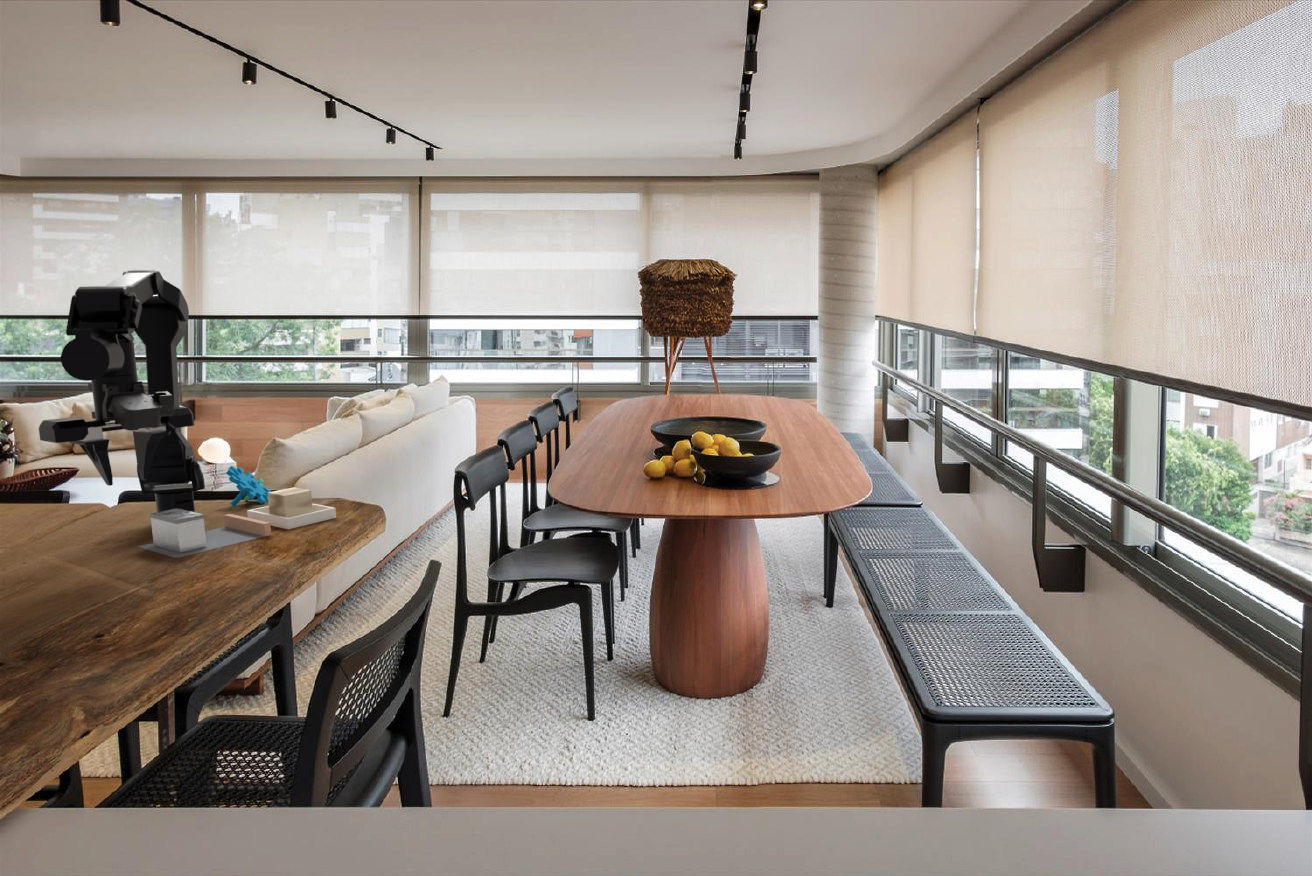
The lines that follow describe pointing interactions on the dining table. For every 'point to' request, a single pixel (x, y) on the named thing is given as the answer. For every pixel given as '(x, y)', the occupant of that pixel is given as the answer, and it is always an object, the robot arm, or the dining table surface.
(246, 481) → the blue toy piece
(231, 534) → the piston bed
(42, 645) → the dining table surface
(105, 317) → the robot arm
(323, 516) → the tray
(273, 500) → the block
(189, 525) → the grey square block
